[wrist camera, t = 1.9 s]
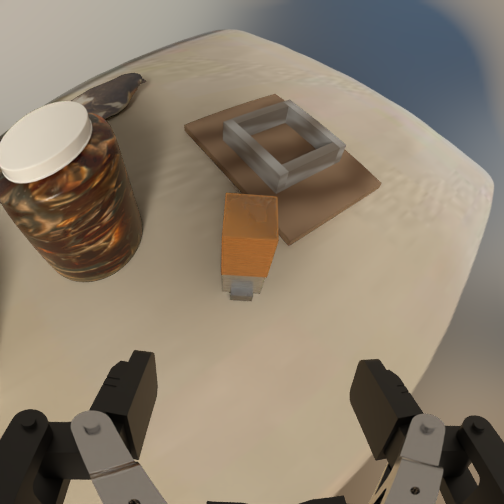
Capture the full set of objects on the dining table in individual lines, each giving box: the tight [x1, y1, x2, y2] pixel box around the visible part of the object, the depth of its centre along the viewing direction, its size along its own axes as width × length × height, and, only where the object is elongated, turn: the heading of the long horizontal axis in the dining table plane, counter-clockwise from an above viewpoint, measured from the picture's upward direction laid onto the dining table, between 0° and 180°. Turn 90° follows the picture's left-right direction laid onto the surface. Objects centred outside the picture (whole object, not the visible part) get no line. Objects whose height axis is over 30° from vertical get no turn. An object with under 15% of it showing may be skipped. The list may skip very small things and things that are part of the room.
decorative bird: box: [71, 73, 146, 119], centre depth 38 cm, size 6×25×5 cm, turn 139°
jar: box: [0, 101, 142, 282], centre depth 25 cm, size 12×12×15 cm
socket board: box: [184, 94, 381, 246], centre depth 38 cm, size 22×16×4 cm
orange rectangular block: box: [221, 193, 279, 301], centre depth 27 cm, size 5×4×10 cm
